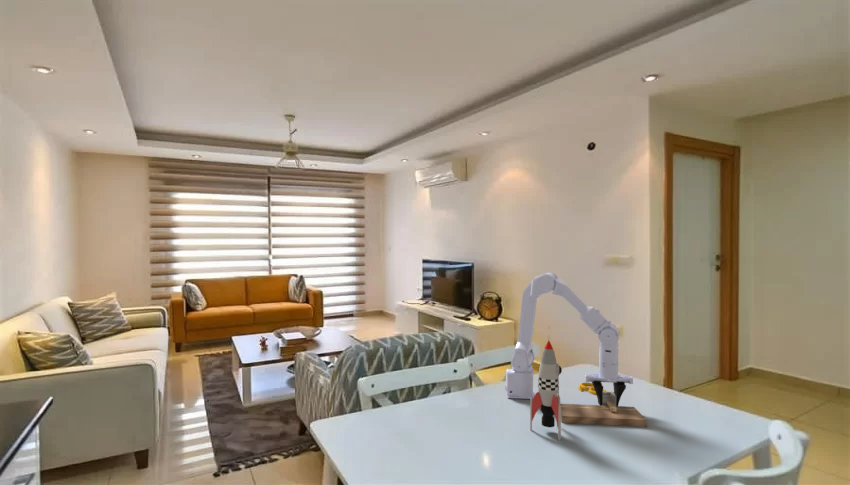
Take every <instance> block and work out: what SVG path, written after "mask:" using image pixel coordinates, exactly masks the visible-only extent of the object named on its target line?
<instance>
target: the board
mask: <svg viewBox="0 0 850 485" xmlns="http://www.w3.org/2000/svg"><path fill="white" fill-rule="evenodd" d="M560 406H561V424H562V423H563V424H583V425H600V426H601V425H603V426H604V425H605V426H627V427H645V428H646V427H647V425H648V424H647V423H648V422H647V421H648V420H647V419H646V417H644V416H643V414H642V413H641V412H640V411H639V410H638V409H637V408H636V407H635V406H624V405H622V406H621V405H618V406H615V407H616V408H617V412H612V411H610V409H609V407H608V406H603V405H599V404H577V403H576V404H575V403H560Z"/></svg>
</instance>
